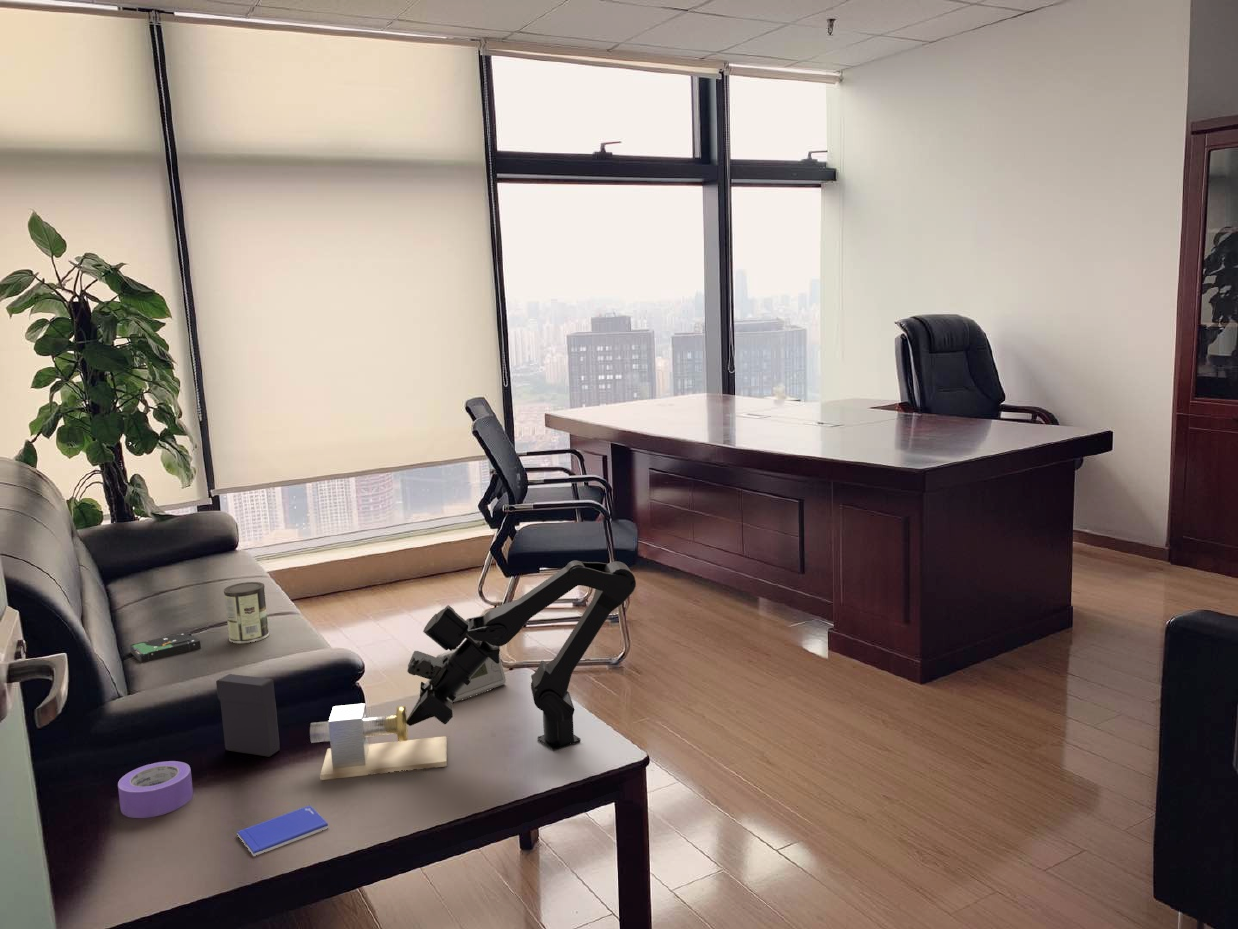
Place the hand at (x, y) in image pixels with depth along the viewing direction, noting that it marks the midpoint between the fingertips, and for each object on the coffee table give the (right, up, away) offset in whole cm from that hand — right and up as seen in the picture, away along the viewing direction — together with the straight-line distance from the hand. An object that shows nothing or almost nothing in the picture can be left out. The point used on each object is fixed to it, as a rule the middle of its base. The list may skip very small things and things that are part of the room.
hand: (407, 723), depth 182 cm
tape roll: (-42, -11, -13) cm, 45 cm away
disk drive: (-78, 0, +66) cm, 102 cm away
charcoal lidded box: (-32, -7, +6) cm, 34 cm away
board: (-4, -7, 0) cm, 8 cm away
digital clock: (+8, -2, +32) cm, 33 cm away
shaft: (-9, -4, -1) cm, 10 cm away
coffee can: (-60, +3, +74) cm, 95 cm away
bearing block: (-11, -6, -1) cm, 13 cm away
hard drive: (-15, -12, -24) cm, 31 cm away
